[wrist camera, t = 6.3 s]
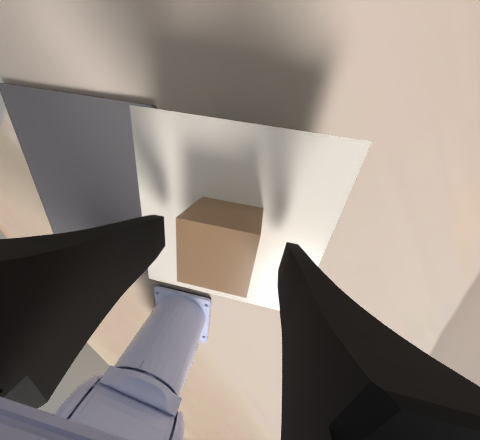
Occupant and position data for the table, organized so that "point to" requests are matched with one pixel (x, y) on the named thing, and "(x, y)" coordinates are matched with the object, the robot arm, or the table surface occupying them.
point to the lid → (238, 197)
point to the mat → (77, 155)
